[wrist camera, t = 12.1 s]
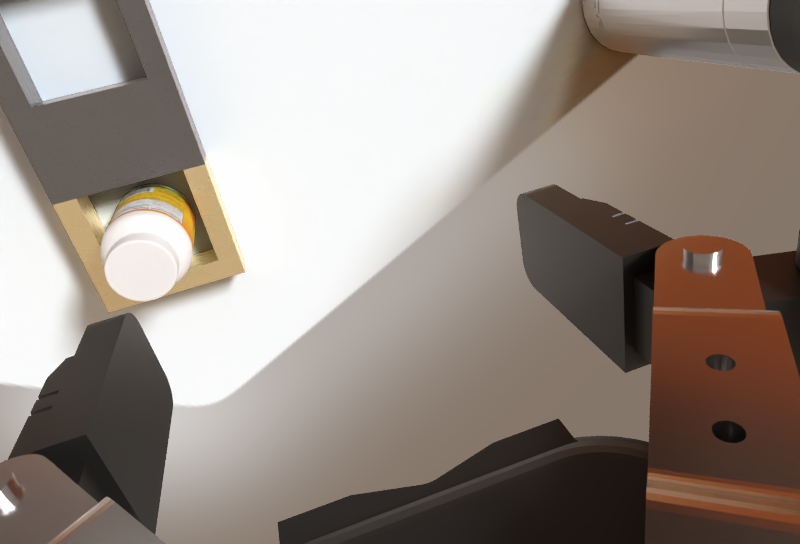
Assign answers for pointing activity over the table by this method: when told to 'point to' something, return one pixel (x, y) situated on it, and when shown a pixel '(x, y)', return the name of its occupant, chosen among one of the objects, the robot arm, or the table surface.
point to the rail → (117, 150)
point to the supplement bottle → (148, 242)
